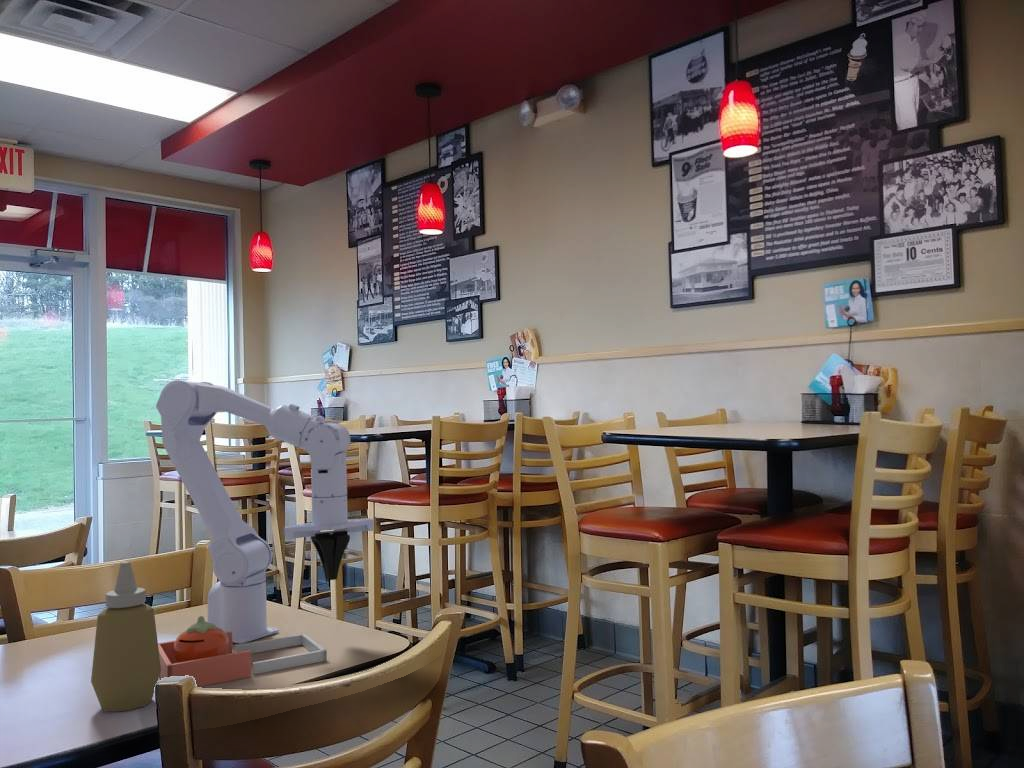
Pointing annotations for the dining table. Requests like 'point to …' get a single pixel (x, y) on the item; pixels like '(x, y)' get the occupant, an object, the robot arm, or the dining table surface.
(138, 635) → the squeeze bottle
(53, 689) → the dining table surface
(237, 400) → the robot arm
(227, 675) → the bin
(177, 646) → the tomato
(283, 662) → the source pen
